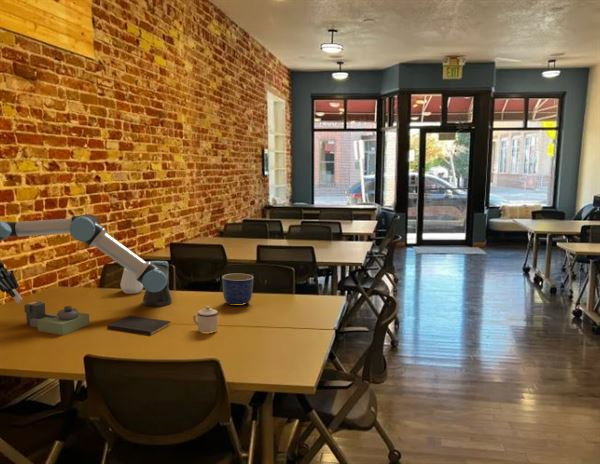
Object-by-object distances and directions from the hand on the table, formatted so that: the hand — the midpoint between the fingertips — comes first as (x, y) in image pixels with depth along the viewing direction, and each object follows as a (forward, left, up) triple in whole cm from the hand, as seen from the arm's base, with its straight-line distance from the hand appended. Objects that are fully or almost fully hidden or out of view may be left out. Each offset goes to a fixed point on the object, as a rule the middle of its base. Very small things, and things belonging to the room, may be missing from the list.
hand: (20, 301), depth 228 cm
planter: (-80, -67, -10) cm, 105 cm away
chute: (-9, 0, -10) cm, 13 cm away
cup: (-14, -65, -10) cm, 67 cm away
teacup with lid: (-85, -21, -10) cm, 88 cm away
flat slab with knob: (-21, 0, -10) cm, 23 cm away
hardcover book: (-55, -14, -10) cm, 57 cm away
